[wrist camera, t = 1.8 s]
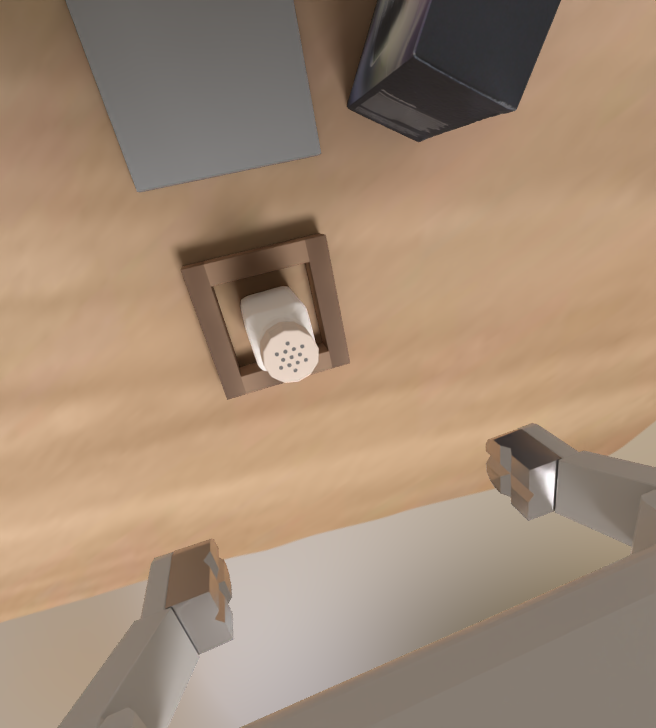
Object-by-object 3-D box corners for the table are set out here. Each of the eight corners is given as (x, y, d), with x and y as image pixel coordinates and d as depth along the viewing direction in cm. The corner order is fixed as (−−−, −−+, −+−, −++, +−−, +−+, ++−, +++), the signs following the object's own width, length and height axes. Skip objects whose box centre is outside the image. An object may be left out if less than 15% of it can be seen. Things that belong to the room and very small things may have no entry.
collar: (318, 233, 28) (325, 235, 27) (343, 354, 33) (350, 362, 31) (183, 265, 27) (180, 270, 25) (226, 388, 31) (227, 399, 29)
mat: (273, -84, 21) (276, -96, 21) (317, 155, 27) (321, 153, 26) (46, -60, 20) (38, -73, 19) (140, 192, 25) (137, 191, 24)
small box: (394, -88, 23) (518, -294, 13) (480, -29, 25) (637, -170, 16) (340, 108, 26) (409, 51, 16) (421, 145, 28) (523, 114, 19)
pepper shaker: (237, 296, 29) (245, 334, 20) (288, 282, 29) (317, 313, 21) (253, 345, 30) (267, 398, 22) (301, 330, 31) (333, 377, 22)
